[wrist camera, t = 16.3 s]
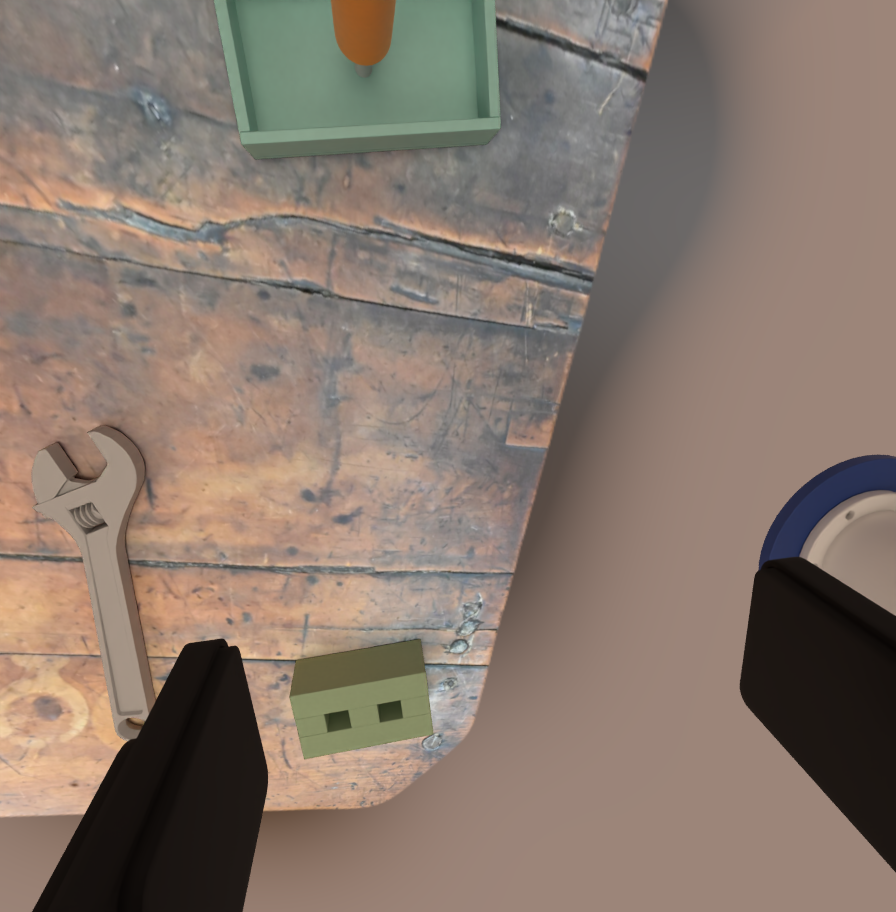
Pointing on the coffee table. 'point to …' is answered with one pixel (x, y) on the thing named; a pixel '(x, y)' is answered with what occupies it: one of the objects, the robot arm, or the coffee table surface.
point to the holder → (361, 698)
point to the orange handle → (363, 30)
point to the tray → (360, 78)
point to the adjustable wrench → (104, 560)
